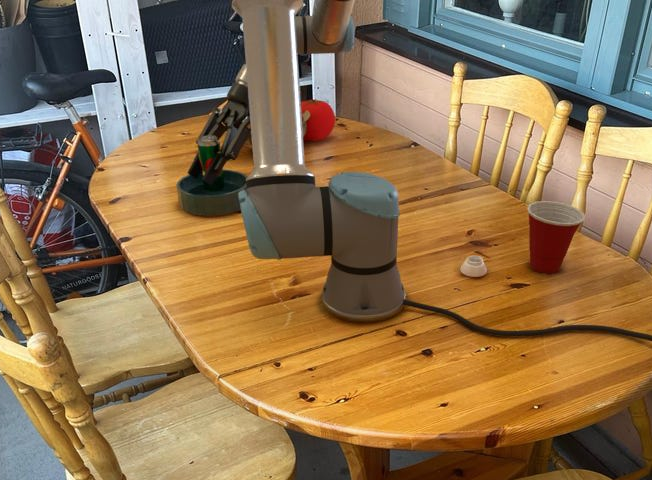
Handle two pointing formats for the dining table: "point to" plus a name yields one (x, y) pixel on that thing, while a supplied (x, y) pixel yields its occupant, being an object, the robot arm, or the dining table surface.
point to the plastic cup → (551, 233)
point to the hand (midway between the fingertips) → (199, 179)
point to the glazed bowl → (211, 194)
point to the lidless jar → (473, 267)
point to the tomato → (318, 119)
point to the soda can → (207, 152)
